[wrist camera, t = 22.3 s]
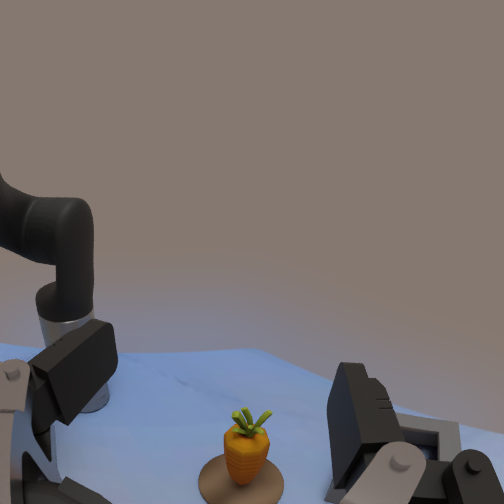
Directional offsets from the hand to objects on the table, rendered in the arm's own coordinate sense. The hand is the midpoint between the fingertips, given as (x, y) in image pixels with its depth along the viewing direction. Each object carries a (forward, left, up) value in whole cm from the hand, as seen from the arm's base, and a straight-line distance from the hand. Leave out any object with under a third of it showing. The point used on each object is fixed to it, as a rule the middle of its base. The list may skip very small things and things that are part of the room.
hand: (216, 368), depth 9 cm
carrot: (-3, +12, -29) cm, 32 cm away
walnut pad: (-3, +12, -30) cm, 33 cm away
